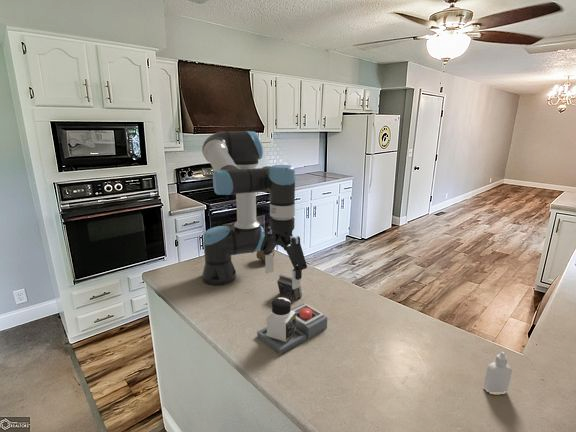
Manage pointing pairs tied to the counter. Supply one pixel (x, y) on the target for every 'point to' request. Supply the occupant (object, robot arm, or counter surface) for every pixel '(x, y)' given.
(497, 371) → the eye dropper bottle
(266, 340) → the console
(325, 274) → the counter surface
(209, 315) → the counter surface
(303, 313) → the button
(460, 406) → the counter surface
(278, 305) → the medicine bottle
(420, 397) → the counter surface
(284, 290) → the electrical switch
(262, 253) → the natural sponge
